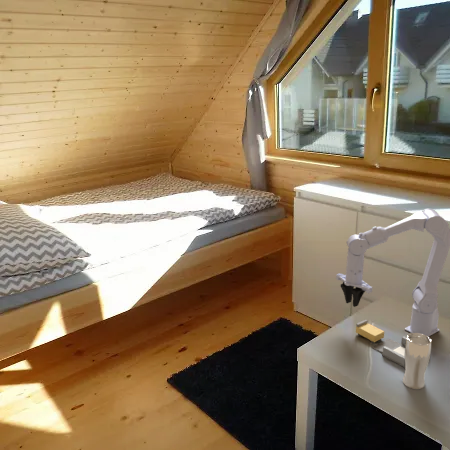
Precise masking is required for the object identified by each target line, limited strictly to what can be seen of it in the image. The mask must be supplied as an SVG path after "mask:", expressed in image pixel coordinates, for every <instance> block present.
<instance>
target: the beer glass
mask: <svg viewBox="0 0 450 450" xmlns="http://www.w3.org/2000/svg"><path fill="white" fill-rule="evenodd" d="M406 338H407V340H406V344H405V352H404V355H405V368H404V370H405V371H404V375H403V378H402V383H403V384H404V385H405V386H406V387H407V388H409V389H412V390H422V389H424V387H425V385H426V382H425V381H426V380H425V374H426V371H427V368H428V366H429V363H430V360H431V359H430V358H431V352H432V339H431V338H430V336H429V337H428V336H426V335H424V334H420V333H411V332H410V333H409V334H407V336H406Z"/></svg>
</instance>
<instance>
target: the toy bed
mask: <svg viewBox="0 0 450 450" xmlns="http://www.w3.org/2000/svg"><path fill="white" fill-rule="evenodd" d="M368 322H369V321H368V319H364V320H361V321H359V322H357V323H356V325H355V333H356V334H357V336H358V337H360V336H362V337H364V338H366V339H368V340H369V341H370V343H371V344H374V343H376V342H378V341H380V340H381V339H384V337H385V330H382V329H381V328H378V327H376V326H375V325H372V324H370V323H368Z"/></svg>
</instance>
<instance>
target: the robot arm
mask: <svg viewBox="0 0 450 450" xmlns="http://www.w3.org/2000/svg"><path fill="white" fill-rule="evenodd" d="M449 226H450V224H449V223H448V221H446V220H445V219H444V218H443V216H441V215H440V214H439V213H438V212H437V211H436V209H435V210H434V209H433V208H424V209H423V210H421V211H416V212H415V213H413V214H412V215H409V216H408V217H405V218H402V220H399V221H397V222H395V223H393V224H391V225H390V224H389V225H388V226H385V227H384V226H376V225H375V226H372V228H371V229H369V230H367V231H364V232H359V233H358V234H356V233H355V234H352V235H350V236H349V237H348V238H347V240H346V244H347V245H346V246H347V247H348V249H347V256H346V267H345V274H343V273H337V274H336V275H335V276H336V277H335V280H336V281H341V282H342V283H341V284H340V285H339V286H340V288H341V290H342V292H343V294H344V299H345V300H344V301H345V304H349V303H351V302H352V307H354V308H356V307H357V306H359V304H360V302H361V299H362V297H363V295H364V294H365V293H366V294H370V293H372V292H373V288H374V287H373V286H371V285H369V283H367V282H365V281H364V280H363V278H364V277H363V275H364V264H365V253H366V252H367V250H369V249H372V248H374V247H377V246H379V245H382V244H384V243H386V242H388V240H389V238H390V237H393V236H395V235H400V234H402V233H405V232H408V231H411V230H415V231H419V232H423V233H424V232H425V231H426V232H427V233H429V235H431V236H432V237H433V242H432V246H431V248H430V252H429V255H428V258H427V262H426V265H425V267H424V272H423V274H422V278H421V280H419V281H418V282H417V286H416V287H415V288H414V289H413V290H412V292H411V295H412V296H411V297H412V299H413V300H414V302H413V304H412V308H411V318H410V322H409V323H410V325H408V326H406V327H405V328H404V330H405V331H407V332H409V333H410V334H411V333H420V334H424V335H426V336H428V337H429V338H430V336H432V335H434V334H436V333H437V332H440V328H438V325H439V318H440V317H439V316H440V312H439V309H438V306H439V303H438V296H439V292H438V285H439V282H440V279H441V275H442V273H443V269H444V267H445V263H446V261H447V257H448V254H449V251H450V227H449ZM424 229H425V230H424Z"/></svg>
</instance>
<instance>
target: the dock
mask: <svg viewBox="0 0 450 450" xmlns="http://www.w3.org/2000/svg"><path fill="white" fill-rule="evenodd" d="M406 340H407V336H405V335H403V336H402V337H401V342H398V341H395V340H393V339H390V338H387V339H386V340H383V341H381V342H379V343H378V344H376V345H373V346H372V347H371V349H374V350H375V351H377V352H378V353H381V354H382V356H383V357H384V358H386V359H388V360H389V361H392V362H394V363H395V364H398V365H399V366H401V367H402V368H404V369H405V355H404V352H405V344H406Z"/></svg>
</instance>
